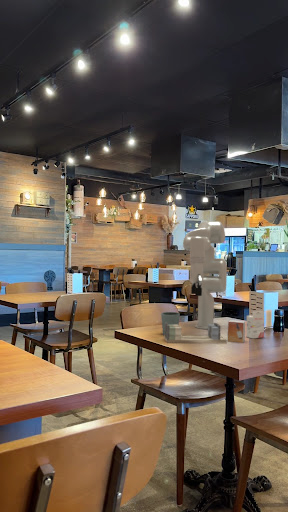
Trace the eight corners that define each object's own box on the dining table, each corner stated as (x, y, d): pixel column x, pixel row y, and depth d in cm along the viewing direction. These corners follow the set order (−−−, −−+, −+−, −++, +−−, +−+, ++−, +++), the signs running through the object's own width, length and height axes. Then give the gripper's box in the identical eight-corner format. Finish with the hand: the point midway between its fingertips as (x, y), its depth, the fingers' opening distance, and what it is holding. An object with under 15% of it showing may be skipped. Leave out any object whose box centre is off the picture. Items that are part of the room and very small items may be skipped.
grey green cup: (183, 335, 232) (183, 313, 232) (171, 337, 225) (171, 315, 225) (168, 332, 239) (169, 311, 239) (157, 334, 232) (157, 313, 232)
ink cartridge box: (257, 335, 235) (258, 309, 235) (264, 337, 231) (264, 310, 231) (245, 336, 231) (246, 310, 231) (252, 338, 227) (252, 311, 227)
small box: (227, 341, 218) (227, 321, 218) (229, 339, 224) (230, 319, 223) (243, 343, 215) (243, 322, 215) (244, 341, 221) (245, 321, 220)
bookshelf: (164, 339, 220) (164, 322, 220) (220, 339, 223) (220, 322, 223) (167, 344, 209) (167, 326, 209) (226, 344, 212) (226, 326, 212)
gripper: (186, 260, 224) (185, 293, 224) (193, 261, 207) (192, 296, 207) (200, 260, 225) (199, 293, 225) (208, 261, 207) (207, 296, 208)
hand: (196, 294), depth 216 cm, fingers open, 8 cm apart
